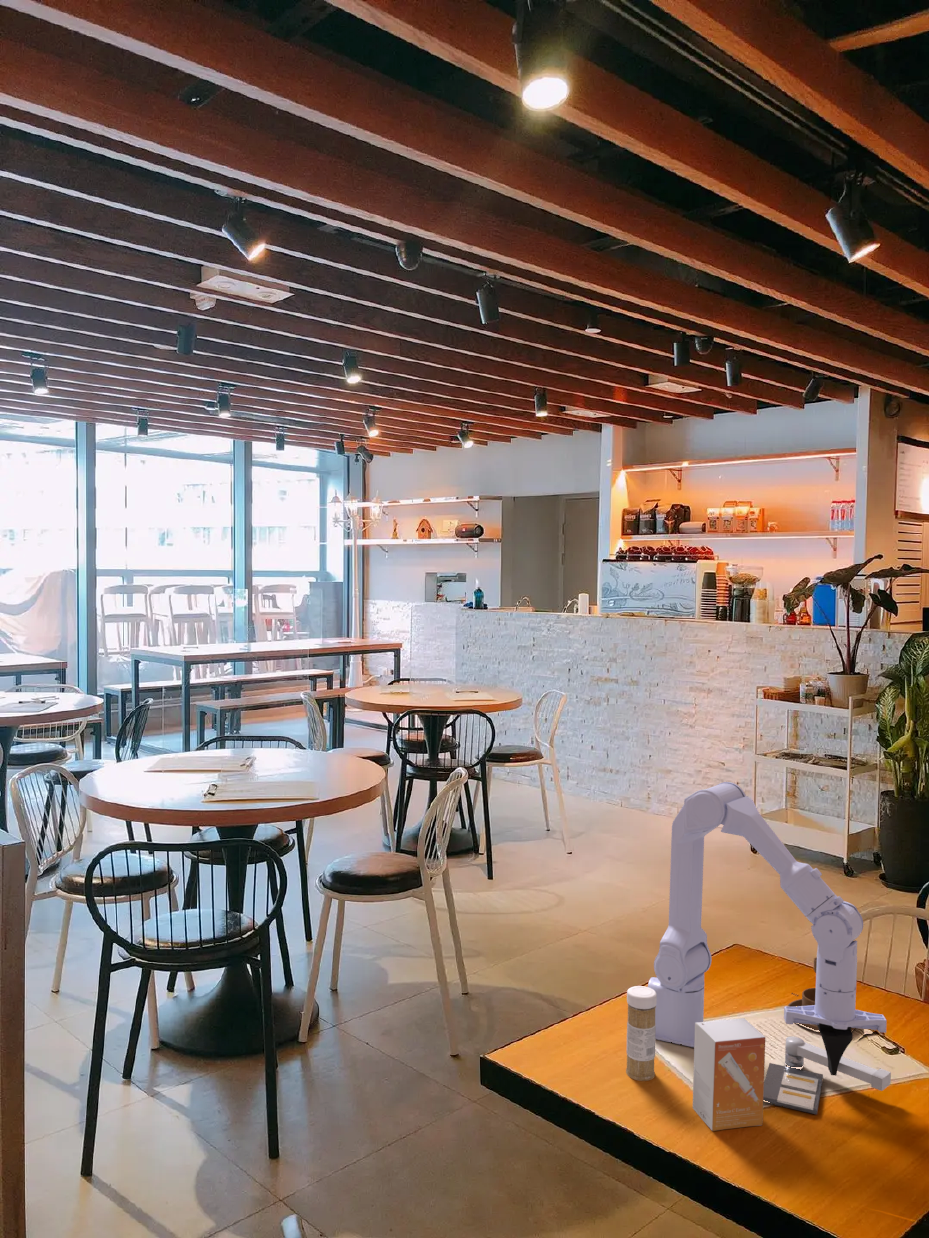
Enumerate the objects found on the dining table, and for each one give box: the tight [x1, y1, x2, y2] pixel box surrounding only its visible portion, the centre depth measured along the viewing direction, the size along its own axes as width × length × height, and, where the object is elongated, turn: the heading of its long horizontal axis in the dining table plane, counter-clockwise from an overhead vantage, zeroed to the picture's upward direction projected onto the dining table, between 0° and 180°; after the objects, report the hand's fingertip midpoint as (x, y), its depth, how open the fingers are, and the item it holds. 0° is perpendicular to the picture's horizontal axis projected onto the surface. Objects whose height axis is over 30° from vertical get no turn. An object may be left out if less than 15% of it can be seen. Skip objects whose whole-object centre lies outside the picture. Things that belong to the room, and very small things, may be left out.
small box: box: [692, 1017, 766, 1132], centre depth 138 cm, size 8×6×13 cm
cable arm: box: [785, 1035, 892, 1092], centre depth 148 cm, size 16×3×2 cm, turn 43°
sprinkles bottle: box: [625, 985, 657, 1082], centre depth 149 cm, size 5×5×14 cm
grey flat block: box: [763, 1051, 824, 1116], centre depth 147 cm, size 8×15×2 cm, turn 155°
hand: (832, 1072), depth 146 cm, fingers closed, pressing on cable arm
